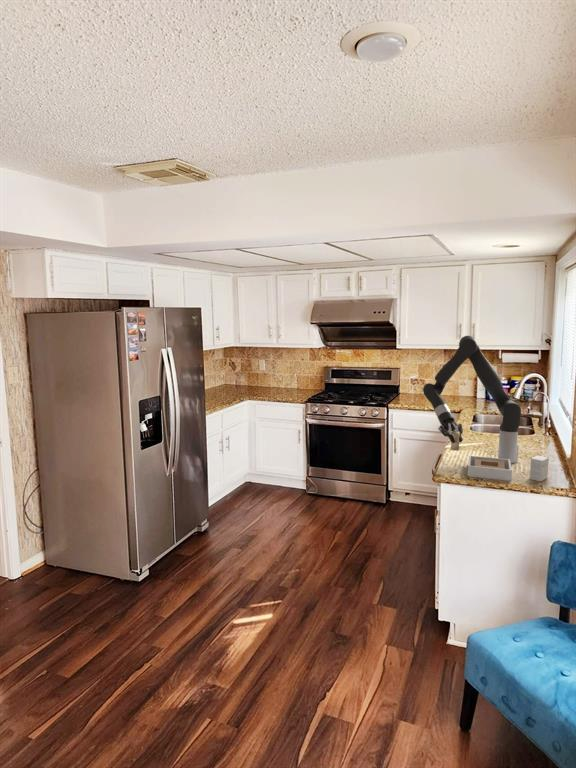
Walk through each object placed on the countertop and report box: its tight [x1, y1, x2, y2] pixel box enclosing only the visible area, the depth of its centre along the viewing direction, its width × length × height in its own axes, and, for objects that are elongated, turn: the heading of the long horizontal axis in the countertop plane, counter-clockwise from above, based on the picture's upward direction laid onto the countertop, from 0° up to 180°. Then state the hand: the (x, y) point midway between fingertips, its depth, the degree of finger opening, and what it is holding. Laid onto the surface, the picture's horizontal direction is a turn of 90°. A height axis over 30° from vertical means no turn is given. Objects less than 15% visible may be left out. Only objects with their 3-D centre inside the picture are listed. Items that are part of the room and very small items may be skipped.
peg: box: [450, 431, 460, 451], centre depth 271 cm, size 4×4×9 cm
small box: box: [529, 455, 549, 482], centre depth 253 cm, size 8×6×10 cm
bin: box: [466, 455, 513, 482], centre depth 262 cm, size 20×20×6 cm
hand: (457, 441), depth 270 cm, fingers closed on peg, 4 cm apart
